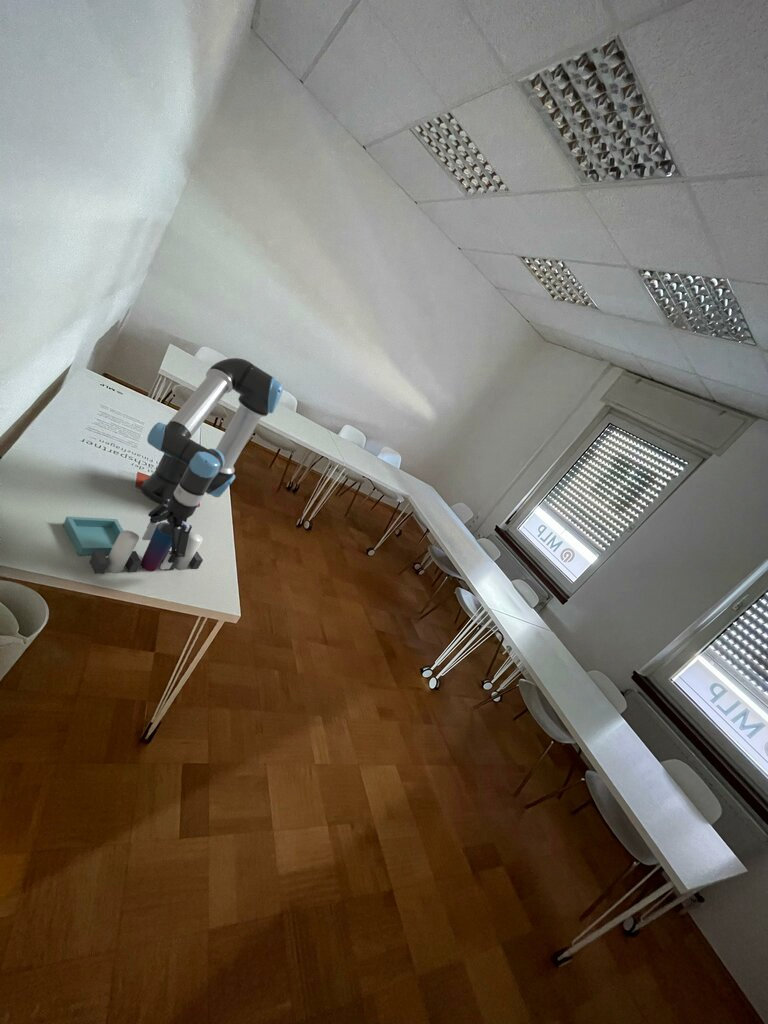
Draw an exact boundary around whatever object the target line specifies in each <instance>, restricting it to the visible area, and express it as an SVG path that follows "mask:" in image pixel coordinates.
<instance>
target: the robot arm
mask: <svg viewBox="0 0 768 1024" xmlns="http://www.w3.org/2000/svg"><path fill="white" fill-rule="evenodd" d="M205 373H206V374H205V378H204V379H203V381H202V382H201V384H200V385H199V386H198V387H197V388H196V389H195V390H194V391H193V393H192V394H191V395H190V397H189V398H187V400H186V401H185V402H184V404H183V405H182V406H181V407H180V408H179V410H177V412H176V413H175V414H174V415H173V417H172V418H171V419H170V420H169V421H168V423H167V424H165V423H163V422H157V423H156V424H154V425H153V426H152V428H150V431H149V433H148V435H147V438H146V440H147V441H146V442H147V443H148V444H149V445H150V446H152V448H155V449H156V450H157V451H159V452H162V453H163V455H162V457H161V459H160V461H159V462H158V465H157V466H156V469H155V471H154V472H153V473H151V475H150V476H149V477H148V478H146V479H145V480H144V481H143V483H142V485H141V486H140V487H141V491H142V493H143V494H144V495H145V496H146V497H147V498H148V499H150V500H152V501H154V502H156V503H158V504H159V505H157V507H155V508H153V509H152V510H151V511H149V512H148V517H150V519H149V522H148V525H147V527H146V529H145V532H144V534H143V536H142V537H141V540H142V541H150V540H151V538H152V536H153V534H154V531H155V529H156V527H157V525H158V524H159V523H161V522H165V521H167V522H166V523H169V524H170V526H171V531H172V547H171V548H170V550H169V553H168V554H167V556H166V558H165V560H164V561H163V563H161V565H160V566H159V568H160V570H166V569H170V567H171V565H172V564H173V563H174V562H175V561H176V559H177V557H184V556H185V552H186V547H187V542H188V537H189V533H191V530H192V528H193V526H192V525H191V524H188V523H187V521H188V518H190V517H191V516H193V515H194V513H195V512H196V509H197V507H198V505H199V504H200V502H201V501H202V500H203V498H204V495H205V494H207V495H209V496H212V497H214V498H220V497H222V495H223V494H224V493H225V492H226V490H227V489H229V487H230V485H231V484H232V483H233V482H234V481H235V479H236V475H235V474H234V473H235V470H236V469H235V467H234V465H235V464H236V461H237V460H238V459H239V456H240V455H241V453H242V451H243V449H244V448H245V446H246V444H247V443H248V440H249V439H250V437H251V435H252V434H253V433H254V430H255V428H256V427H257V425H258V423H259V422H260V420H261V418H264V417H267V416H268V415H269V414H273V413H274V412H275V411H276V408H277V405H278V404H279V402H280V400H281V398H282V394H283V391H284V385H283V384H282V382H280V381H278V380H277V379H276V378H275V377H274V376H272V375H270V374H269V373H267V372H265V371H264V370H263V369H261V368H259V367H258V366H256V365H254V364H253V363H252V362H251V361H249V360H246V359H244V358H240V357H238V358H237V357H235V358H233V357H232V358H226V359H223V360H220V361H218V362H216V363H215V364H213V365H212V366H210V368H209V369H208V370H207V371H206V372H205ZM232 390H233V391H234V392H236V393H237V394H239V397H238V399H237V400H238V403H239V405H238V408H237V410H236V411H235V414H234V416H233V417H232V419H231V421H230V422H229V424H228V425H227V428H226V429H225V431H224V433H223V435H222V437H221V438H220V440H219V442H218V444H217V446H216V448H206V447H205V446H203V445H201V444H199V443H198V442H196V441H194V440H193V439H191V438H192V437H193V436H194V434H195V433H196V432H197V431H198V429H199V428H200V426H201V425H202V424H203V423H204V421H205V420H206V419H207V417H208V416H209V415H210V414H211V412H212V411H213V410H214V409H215V407H216V406H217V405H218V403H219V402H220V401H221V399H222V398H223V397H224V395H225V394H228V393H231V392H232ZM175 527H176V528H178V529H175Z"/></svg>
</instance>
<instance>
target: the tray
mask: <svg viewBox="0 0 768 1024" xmlns="http://www.w3.org/2000/svg"><path fill="white" fill-rule="evenodd" d="M62 526H63V527H64V530H65V532H66V534H67V535H68V538H69V540H70V542H71V544H72V545H73V548H74V550H75V552H76V554H77V556H78V557H92V555H93V553H94V551H103V552H104V554H105V556H106V557H108V555H109V554H110V552H111V550H112V548H113V546H114V544H115V542H116V540H117V538H118V536H119V534H120V532H121V531H125V530H124V528H123V527H122V526H121V523H120V522H119V520H118V519H117V518H105V517H104V518H101V517H83V516H66V518H65V520H64V522H63V524H62Z"/></svg>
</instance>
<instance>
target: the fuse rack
mask: <svg viewBox="0 0 768 1024" xmlns="http://www.w3.org/2000/svg"><path fill="white" fill-rule="evenodd" d="M139 539H140V536H139V535H138V534H137V533H136V532H133V531H131V530H126V529H125V530H124V531H121V532H120V534H119V536H118V538H117V540H116V542H115V544H114V546H113V548H112V550H111V552H110V554H109V555H108V556H105V554H104V552H103V551H94V553H93V555H92V556H90V559H89V561H88V564H89V565H90V568H91V570H92V571H93V573H94V575H103V574H105V573H106V572H109V573H111V572H112V573H111V574H119V573H122V571H124V570H123V569H124V568H125V569H126V570H127V571H126V572H128V573H137V572H138V571H139V569H140V567H141V566H140V565H141V563H142V561H141V560H142V559H141V558H140V556H139V555H138V553H137V551H136V550H134V549H135V548H136V546H137V544H138V542H139ZM203 540H204V538H203V537H202V535H200V534H199V533H196V532H191V531H190V533H189V537H188V542H187V547H186V552H185V556H184V557H177V559H176V561H175V562H174V563H173V564H172V565H171V567H170V569H165V571H174V569H178V570H186V569H188V566H189V567H190V569H191V570H198V569H200V566H201V564H202V563H203V561H204V559H203V558H202V556H201V554H200V553H199V552H198V550H199V548H200V546H201V544H202V542H204V541H203ZM169 551H170V550H169ZM169 551H168V553H169ZM168 553H167V554H168ZM167 554H166V556H167ZM166 556H165V557H164V559H163V560H162V562H161V563H160V564H162V563H163V561H164V560H165V558H166Z"/></svg>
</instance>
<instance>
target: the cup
mask: <svg viewBox="0 0 768 1024" xmlns="http://www.w3.org/2000/svg"><path fill="white" fill-rule="evenodd" d="M158 523H159V524H158V525H157V527H156V529H155V531H154V534H153V536H152V538H151V540H149V542H148V545H147V547H146V550H145V551H144V553H143V556H142V559H140V560H141V561H142V563H141V565H140V567H141V568H142V569H143V570H144V571H148V572H154V571H157V569H159V568H158V567H160V566H161V565H160V564H162V563H161V562H162V560H163V559H164V557H165V556H166V554H167V553H168V551H171V549H172V531H171V526H170V524H169V523H168V522H165V521H161V522H158ZM175 529H179V527H178V528H176V527H175Z"/></svg>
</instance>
